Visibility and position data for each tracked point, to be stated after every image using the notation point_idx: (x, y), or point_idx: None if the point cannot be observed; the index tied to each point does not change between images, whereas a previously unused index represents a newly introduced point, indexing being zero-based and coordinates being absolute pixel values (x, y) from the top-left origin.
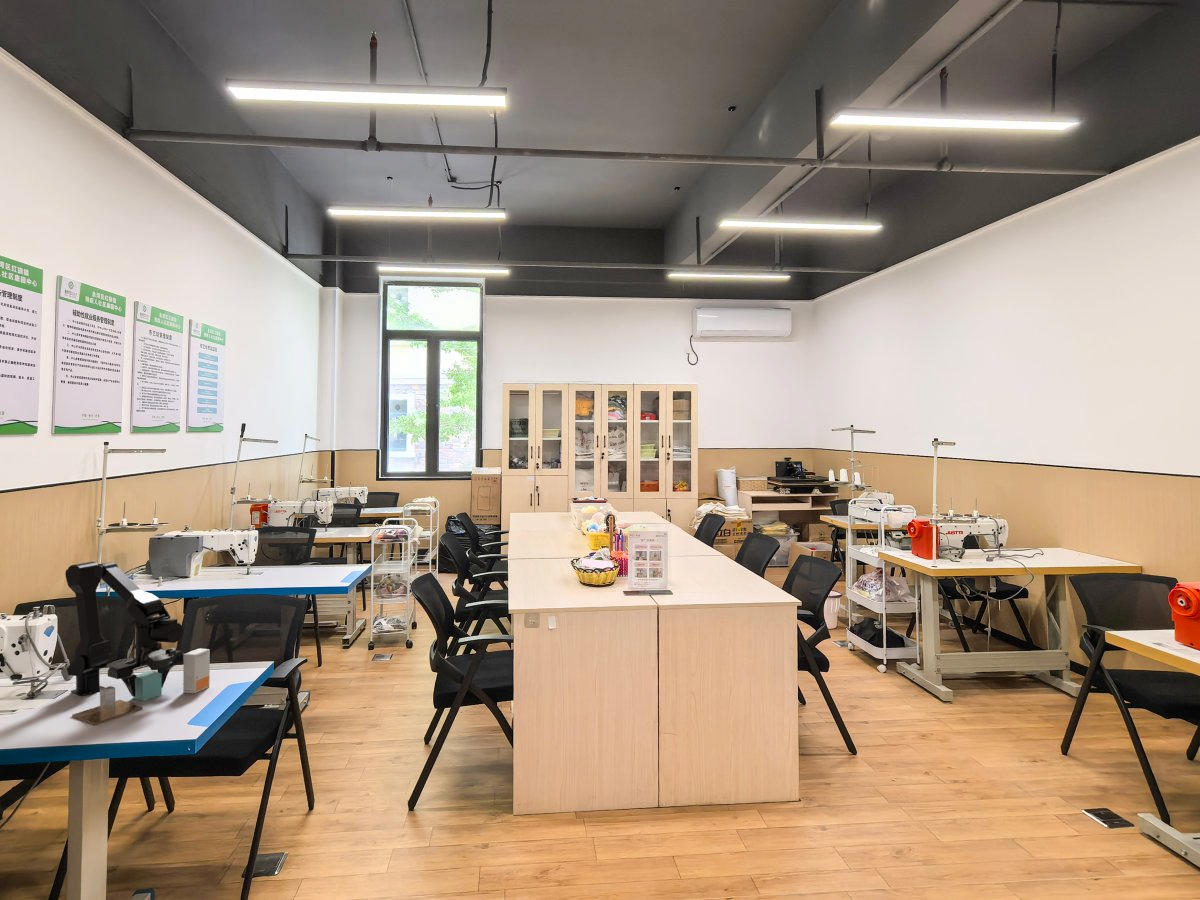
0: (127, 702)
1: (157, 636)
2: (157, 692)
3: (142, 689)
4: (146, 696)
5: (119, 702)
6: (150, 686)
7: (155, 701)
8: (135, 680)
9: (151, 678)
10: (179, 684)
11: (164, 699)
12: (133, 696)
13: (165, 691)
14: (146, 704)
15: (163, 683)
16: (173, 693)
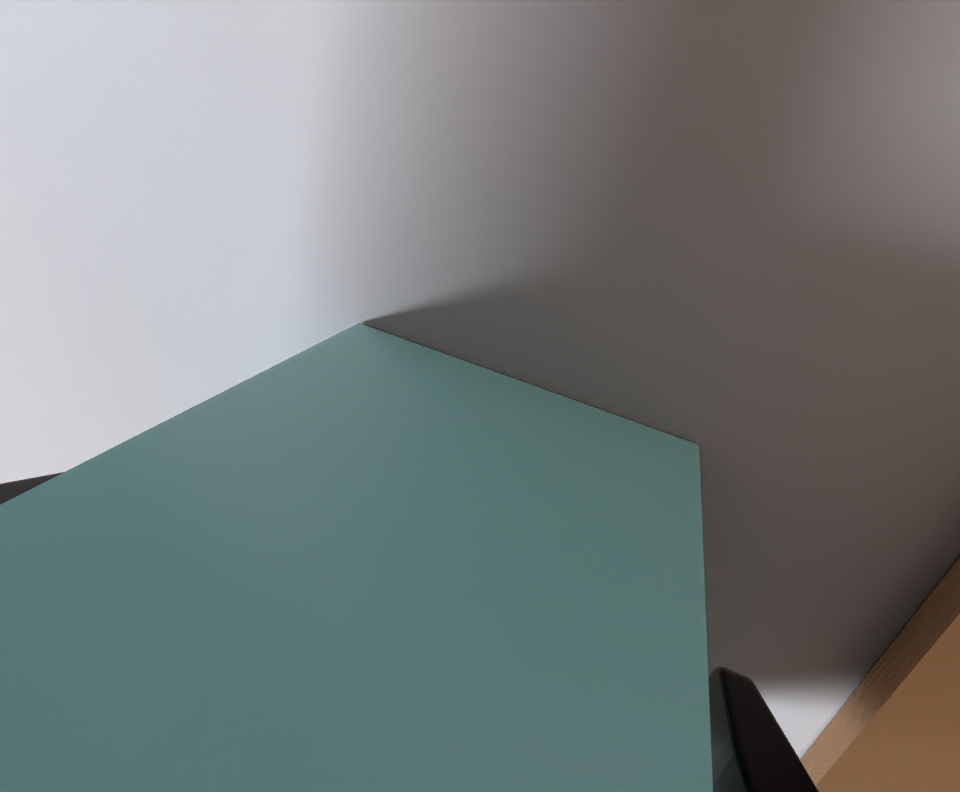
0: (947, 651)
1: None
2: (393, 374)
3: (693, 640)
4: (627, 451)
5: (943, 788)
6: (471, 539)
7: (688, 134)
8: None
9: (273, 769)
10: (8, 392)
11: (534, 14)
12: (748, 684)
13: None
14: (920, 192)
15: None
16: (233, 151)
